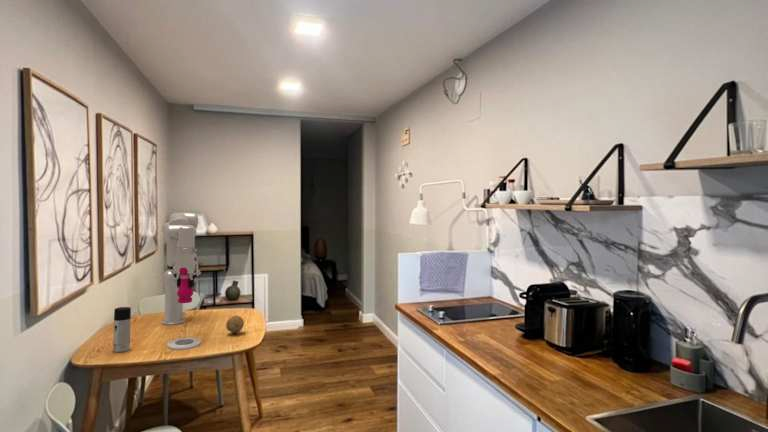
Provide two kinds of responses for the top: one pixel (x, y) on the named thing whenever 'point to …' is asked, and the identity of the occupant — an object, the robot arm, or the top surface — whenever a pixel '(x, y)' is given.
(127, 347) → the spray can
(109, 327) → the top surface
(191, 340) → the mount plate
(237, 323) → the natural sponge
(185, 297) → the pepper mill
